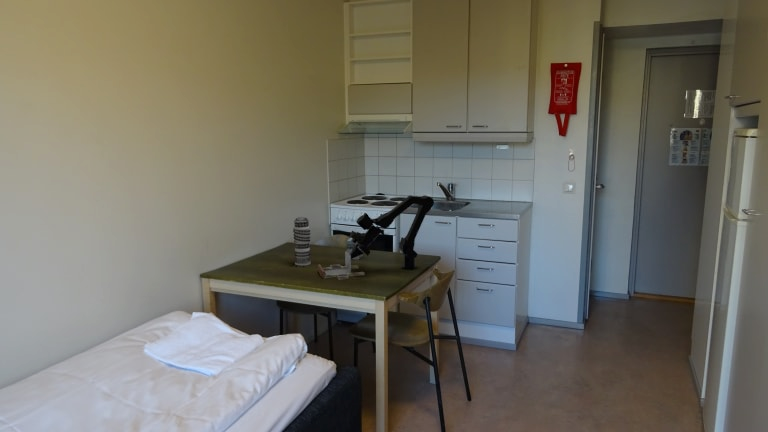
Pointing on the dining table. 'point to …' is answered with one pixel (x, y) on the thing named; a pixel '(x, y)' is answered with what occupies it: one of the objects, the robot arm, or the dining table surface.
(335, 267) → the trap lane
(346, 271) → the bookend
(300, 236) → the decorative candle
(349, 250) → the light bulb box
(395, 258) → the dining table surface
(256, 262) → the dining table surface
